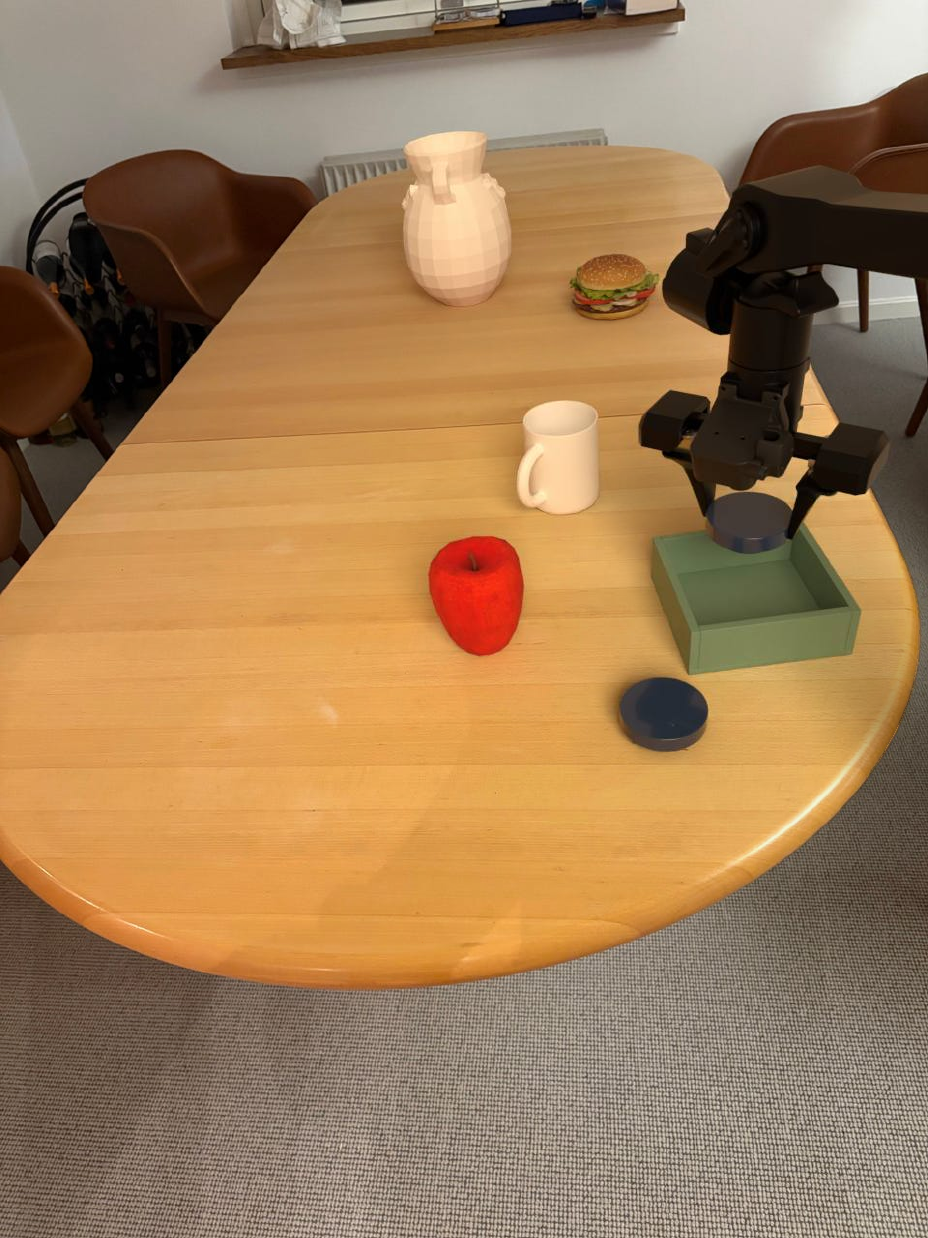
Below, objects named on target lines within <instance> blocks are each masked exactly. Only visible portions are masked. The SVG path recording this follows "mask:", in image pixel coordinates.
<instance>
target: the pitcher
mask: <svg viewBox="0 0 928 1238" xmlns="http://www.w3.org/2000/svg"><path fill="white" fill-rule="evenodd" d="M488 138H489V137H488V135H486V134H485V133H484V132H480V131H448V132H441V133H434V134H429V135H426V136H423V137H419V138H417V139H414V140H411V141H408V143H407V144H406V145H404V147H403V149H402V150H403V153H404V157H405V160H406V162H407V165H408V166H409V168H410V169H411V171H412V172H413V174H414V175H415V177H416V178H415V180H414V181H415V182H414V184H409V186H408V188H407V190H406V193H405V197H404V198H403V200H402V202H401V206H402V209H403V210H404V216H403V224H402V226H403V227H402V233H403V236H402V237H403V249H404V255H405V260H406V261H405V262H406V265H407V267H408V269H409V272H410V273H411V275H412V277H413V280H414V281H415V282H416V283H417V284H418V285H419V286H420V287H421V288H422V289H423V290H424V291H425V292H426V293H427V294H428V295H429V296H431V297H432V298H434V299H436V300H437V301H439V302H440V303H442V304H443V305H446V306H450V307H470V306H475V305H478V304H481V303H483V302H486V301H487V300H488V299H490V298H491V297H492V295H493V294H494V292H495V291H496V289H497V288H498V287H499V284H500V283H501V281H502V280H503V278H504V276H505V273H506V271H507V269H508V267H509V263H510V260H511V259H510V258H511V254H512V250H513V249H512V248H513V247H512V246H513V243H512V242H513V241H512V237H513V236H512V235H513V233H512V231H513V230H512V226H511V222H510V217H509V214H508V209H507V205H506V200H505V198H506V195H507V193H506V191H505V189H504V187H502V186H500V185H499V183H498V181H497V178H495V177H492V176H491V175H490V173H489V172H485V173H482V166H483V163H484V159H485V155H486V152H487V147H488Z"/></svg>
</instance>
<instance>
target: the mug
mask: <svg viewBox="0 0 928 1238" xmlns="http://www.w3.org/2000/svg"><path fill="white" fill-rule="evenodd" d="M522 431H523V444H524V454H523V456H522V459H521V460H520V463H519V466H518V469H517V470H518V471H517V474H516V493H517V496H518V499H519V501H520V503H521V504H522V505H523V506H524V507H526V508H530V509H533V508H536V509H538V510H539V511H542V512H544V513H545V514H546V513H547V514H550V515H557V516H567V515H574V514H577V513H581V512H583V511H586V510H587V509H589V508H590V507H591V506H593V505H594V504H595V503H596V501H597V499H598V498H599V496H600V487H601V485H600V484H601V483H600V481H601V480H600V479H601V477H600V476H601V475H600V444H599V443H600V437H599V436H600V435H599V433H600V432H599V431H600V429H599V414H598V411H597V410H596V409H595V407H593V406H591V405H590V404H588V403H585V402H582V401H577V400H569V399H568V400H567V399H566V400H564V399H563V400H554V401H548V402H545V403H541V404H538V405H536V406H534V407H532V408H531V409H529V410H528V411H527V412H526V413H525V414H524V416H523V417H522Z"/></svg>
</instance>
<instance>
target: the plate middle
mask: <svg viewBox="0 0 928 1238" xmlns="http://www.w3.org/2000/svg"><path fill="white" fill-rule="evenodd" d="M618 706H619V707H618V708H619V709H618V710H619V711H618V718H619V726H620V728H621V730H622V732H623V734H625V736H626V737H627V738H628V739H629V741H631V742H633V743H634V744H636V745H637V746H638V747H641V748H643V749H646V750H650V751H654V752H661V753H670V752H672V753H673V752H678V751H681V750H686V749H689V748H690V747H692V746H694V745H695V744H696V743H697V742H699V741H700V740H701V739H702V737H704V734H705V733H706V730H707V728H708V719H709V704H708V701H707V700H706V697H705V696H704V695H703V693H702V692H701V691H700V690H698V689H697V687H695V686H694V685H692V684H690V683H689V682H686V681H684V680H681V679H679V678H674V677H669V676H653V677H648V678H644V679H641V680H639V681H637V682H635V683H633V684H631V685H630V686H629V687H628V688H626V690H625V691H624V692H623V694H621V698H620V700H619V704H618Z"/></svg>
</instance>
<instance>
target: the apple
mask: <svg viewBox="0 0 928 1238" xmlns="http://www.w3.org/2000/svg"><path fill="white" fill-rule="evenodd" d="M427 575H428V591H429V594H430V598H431V601H432V604H433V607H434V610H435V613H436V615H437V616H438V619H439V621H440V623H441V624H442V626H443V627H444V629H445V631H446V633H447V634H448V636H449V637H450V639H451V640H452V641H453V642H454V643H455V644H456V645H457V646H458V647H459V648H461V649H462V650H464V651H465V652H466V653H468V654H471V655H473V656H477V657H484V656H492V655H494V654H496V653H498V652H500V651H502V650H503V649H504V648H506V646H508V645H509V644H510V642H511V640H512V639H513V637H514V636H515V633H516V632H517V630H518V626H519V622H520V619H521V614H522V609H523V600H524V590H525V583H524V576H523V571H522V566H521V561H520V556H519V555H518V552H517V550H516V548H515V547H514V546H513V545H512V544H511V543H509V542H508V541H507V540H506V539H503V538H500V537H497V536H494V535H472V536H469V537H465V538H460V539H458V540H451V541H450V542H448V543H447V544H446V545H445V546H443V547H442V548H441V549H439V550H438V552H437V553H436V555H434V558H433V559H432V560H431V562H430V565H429V569H428V574H427Z"/></svg>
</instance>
